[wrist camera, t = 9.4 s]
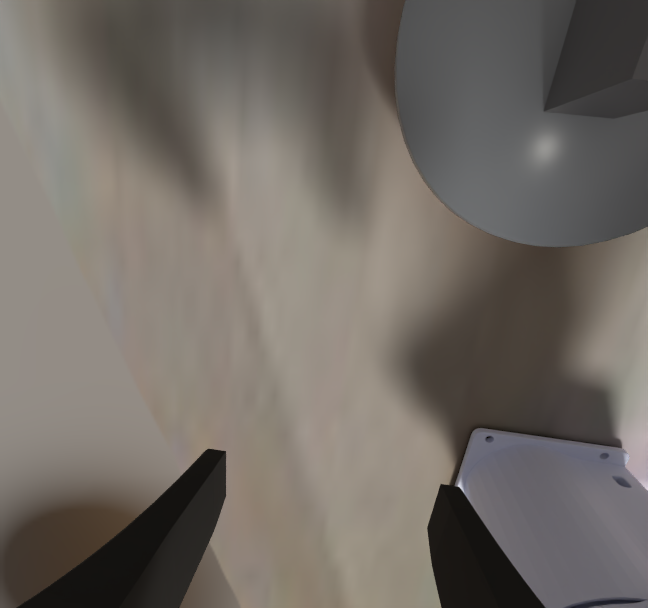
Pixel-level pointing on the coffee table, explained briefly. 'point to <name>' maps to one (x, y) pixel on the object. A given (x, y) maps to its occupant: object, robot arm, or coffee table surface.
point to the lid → (529, 114)
